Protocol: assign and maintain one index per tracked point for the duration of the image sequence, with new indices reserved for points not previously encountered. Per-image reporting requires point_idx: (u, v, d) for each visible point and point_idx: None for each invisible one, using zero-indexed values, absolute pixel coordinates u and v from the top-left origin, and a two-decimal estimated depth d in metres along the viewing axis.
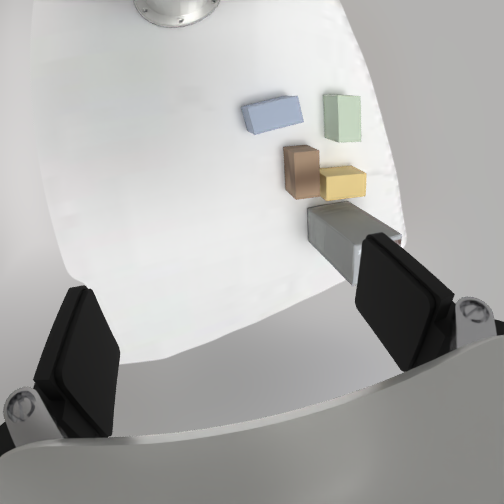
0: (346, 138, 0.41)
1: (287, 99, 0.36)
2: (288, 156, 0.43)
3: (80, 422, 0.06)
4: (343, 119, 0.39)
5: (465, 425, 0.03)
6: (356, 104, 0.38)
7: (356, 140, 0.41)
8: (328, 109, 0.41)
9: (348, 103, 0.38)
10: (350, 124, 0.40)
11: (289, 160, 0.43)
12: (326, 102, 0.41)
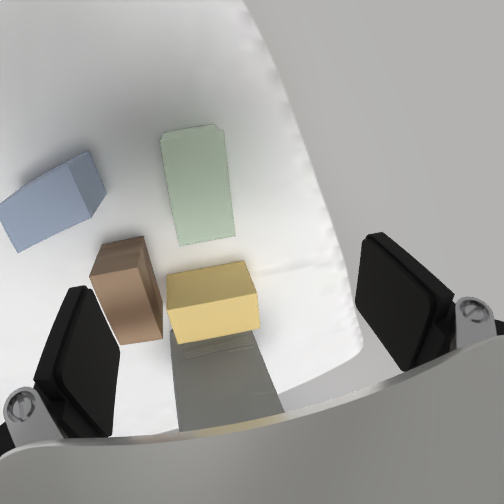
0: (196, 236, 0.20)
1: (50, 177, 0.15)
2: None
3: (80, 422, 0.06)
4: (181, 194, 0.18)
5: (465, 425, 0.03)
6: (214, 153, 0.17)
7: (223, 235, 0.20)
8: None
9: (192, 155, 0.17)
10: (202, 203, 0.19)
11: None
12: None
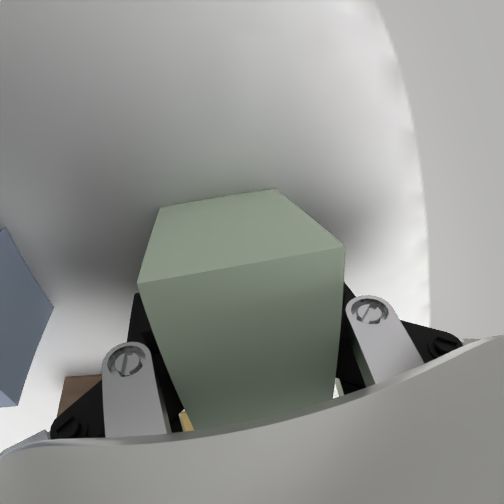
0: None
1: None
2: None
3: None
4: (216, 402, 0.07)
5: (465, 425, 0.03)
6: (310, 311, 0.06)
7: None
8: None
9: (245, 319, 0.06)
10: (267, 411, 0.07)
11: None
12: None
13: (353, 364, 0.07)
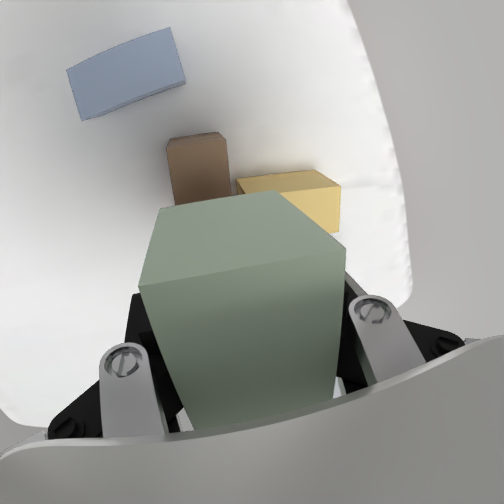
0: None
1: (146, 37, 0.14)
2: None
3: None
4: (216, 404, 0.07)
5: (465, 425, 0.03)
6: (311, 313, 0.06)
7: None
8: None
9: (246, 322, 0.06)
10: (267, 412, 0.07)
11: None
12: None
13: (356, 363, 0.07)
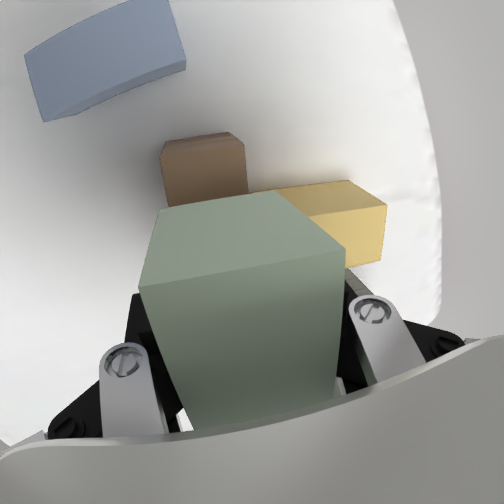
0: None
1: (131, 3, 0.09)
2: None
3: None
4: (217, 404, 0.07)
5: (465, 425, 0.03)
6: (311, 314, 0.06)
7: None
8: None
9: (246, 322, 0.06)
10: (267, 413, 0.07)
11: None
12: None
13: (356, 363, 0.07)
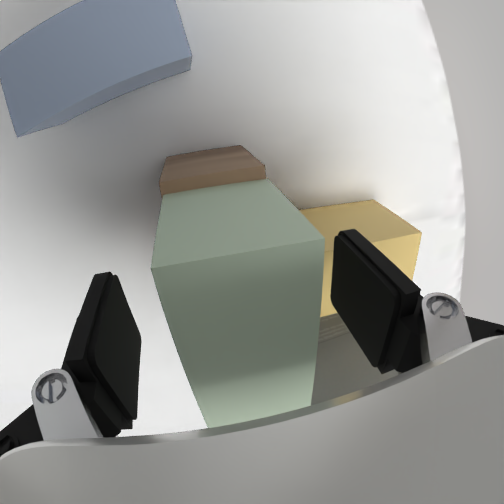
0: (240, 418, 0.09)
1: None
2: None
3: (109, 404, 0.06)
4: (213, 369, 0.08)
5: (465, 425, 0.03)
6: (294, 292, 0.07)
7: (289, 410, 0.10)
8: None
9: (240, 298, 0.07)
10: (257, 378, 0.09)
11: None
12: None
13: None
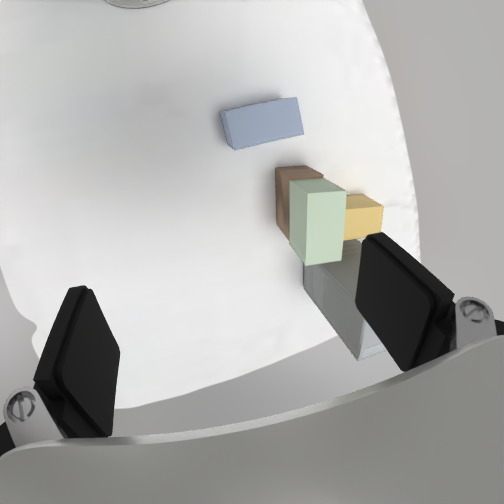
0: (317, 259, 0.28)
1: (282, 101, 0.26)
2: (281, 181, 0.32)
3: (80, 422, 0.06)
4: (314, 230, 0.27)
5: (465, 425, 0.03)
6: (339, 205, 0.26)
7: (334, 259, 0.29)
8: (295, 207, 0.29)
9: (325, 204, 0.26)
10: (326, 237, 0.28)
11: (282, 186, 0.32)
12: (293, 195, 0.29)
13: None
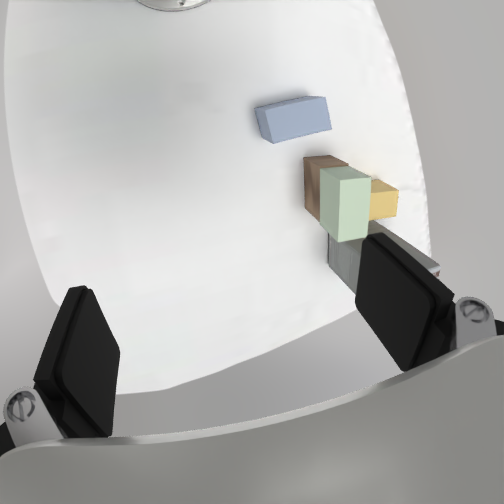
0: (347, 236, 0.32)
1: (313, 100, 0.29)
2: (310, 169, 0.36)
3: (80, 422, 0.06)
4: (345, 211, 0.31)
5: (465, 425, 0.03)
6: (365, 189, 0.30)
7: (361, 236, 0.33)
8: (326, 192, 0.33)
9: (354, 189, 0.30)
10: (355, 217, 0.31)
11: (312, 174, 0.36)
12: (324, 181, 0.33)
13: None
